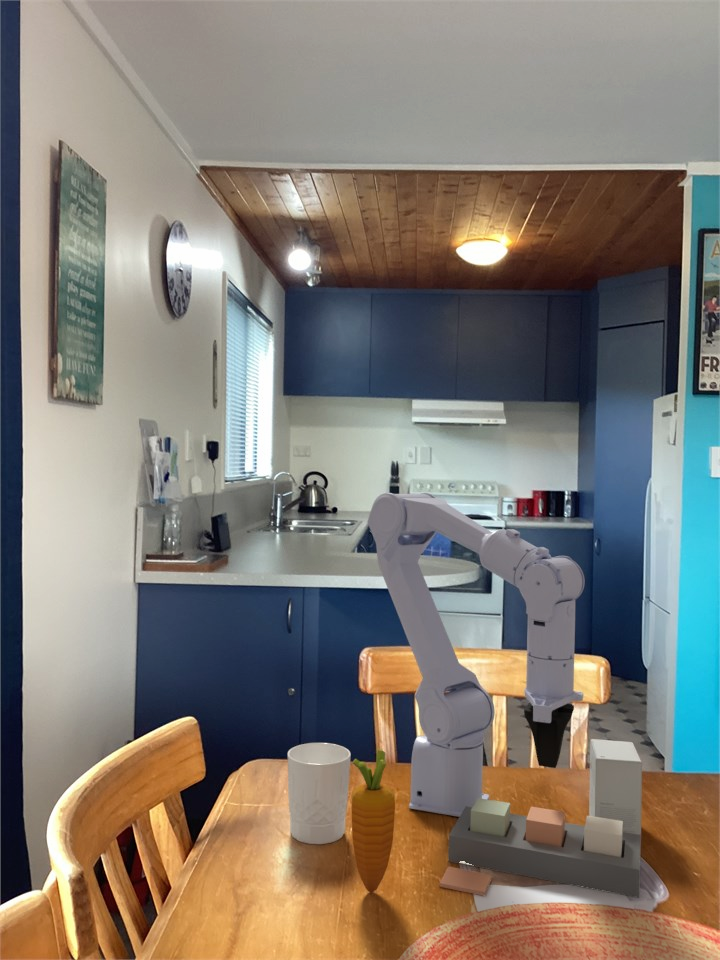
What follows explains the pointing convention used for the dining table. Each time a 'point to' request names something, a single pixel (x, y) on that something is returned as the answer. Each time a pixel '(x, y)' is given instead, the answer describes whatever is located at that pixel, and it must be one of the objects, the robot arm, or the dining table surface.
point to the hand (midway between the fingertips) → (548, 764)
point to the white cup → (318, 791)
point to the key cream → (603, 836)
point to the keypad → (548, 856)
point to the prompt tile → (466, 880)
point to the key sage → (490, 817)
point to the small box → (616, 783)
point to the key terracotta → (545, 826)
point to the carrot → (372, 823)
